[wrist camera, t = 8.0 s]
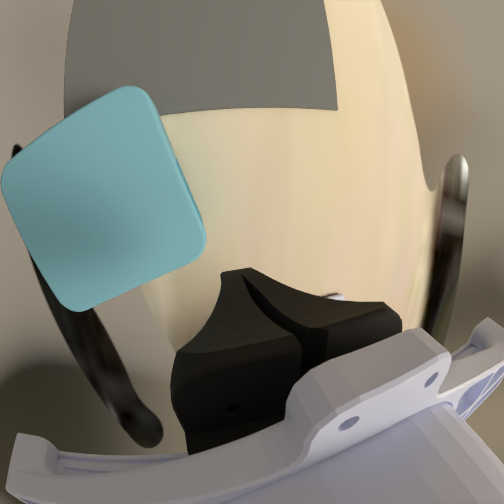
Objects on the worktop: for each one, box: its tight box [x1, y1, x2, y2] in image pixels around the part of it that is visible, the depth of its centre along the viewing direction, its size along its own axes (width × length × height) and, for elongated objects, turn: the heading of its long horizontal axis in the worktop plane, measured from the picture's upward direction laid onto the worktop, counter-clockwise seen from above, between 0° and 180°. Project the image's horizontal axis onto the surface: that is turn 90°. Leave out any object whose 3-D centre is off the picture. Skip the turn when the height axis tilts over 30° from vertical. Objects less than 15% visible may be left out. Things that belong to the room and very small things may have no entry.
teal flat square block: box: [1, 86, 206, 312], centre depth 16 cm, size 12×4×12 cm
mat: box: [64, 0, 338, 119], centre depth 15 cm, size 14×22×1 cm, turn 93°
